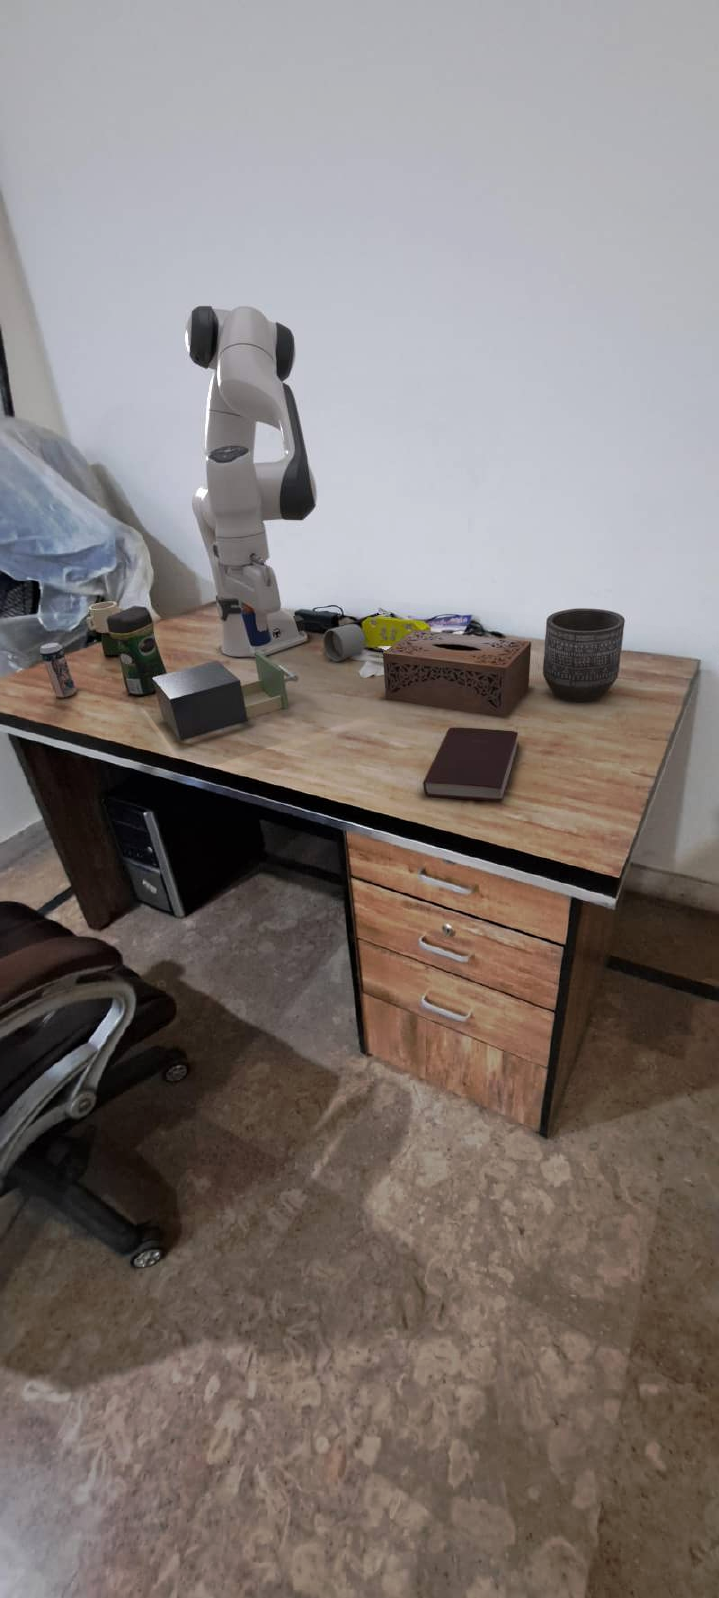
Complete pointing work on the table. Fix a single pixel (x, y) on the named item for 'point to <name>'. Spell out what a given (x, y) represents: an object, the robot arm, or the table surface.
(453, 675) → the tissue box cover
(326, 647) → the ceramic mug
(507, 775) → the book
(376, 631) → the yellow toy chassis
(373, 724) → the table surface
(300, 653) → the table surface
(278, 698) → the drawer
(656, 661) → the table surface
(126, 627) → the coffee jar
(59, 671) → the beer can
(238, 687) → the drawer unit
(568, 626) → the planter
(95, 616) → the character mug
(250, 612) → the glue bottle
